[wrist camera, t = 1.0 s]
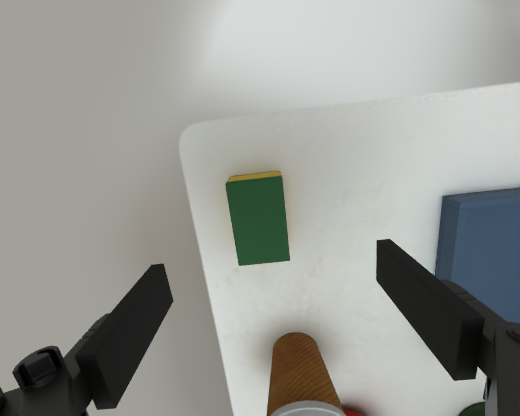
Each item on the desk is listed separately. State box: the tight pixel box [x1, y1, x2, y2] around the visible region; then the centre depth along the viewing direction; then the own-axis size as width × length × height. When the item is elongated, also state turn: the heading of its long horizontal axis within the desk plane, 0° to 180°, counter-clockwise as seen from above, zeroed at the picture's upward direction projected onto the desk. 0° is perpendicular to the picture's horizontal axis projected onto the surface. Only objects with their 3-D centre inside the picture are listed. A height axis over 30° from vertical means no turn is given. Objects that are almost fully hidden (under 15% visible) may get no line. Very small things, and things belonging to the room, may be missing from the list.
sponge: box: [226, 171, 290, 266], centre depth 27 cm, size 9×6×4 cm, turn 7°
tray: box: [435, 188, 520, 323], centre depth 30 cm, size 22×16×3 cm
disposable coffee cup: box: [267, 333, 346, 416], centre depth 29 cm, size 10×10×12 cm
